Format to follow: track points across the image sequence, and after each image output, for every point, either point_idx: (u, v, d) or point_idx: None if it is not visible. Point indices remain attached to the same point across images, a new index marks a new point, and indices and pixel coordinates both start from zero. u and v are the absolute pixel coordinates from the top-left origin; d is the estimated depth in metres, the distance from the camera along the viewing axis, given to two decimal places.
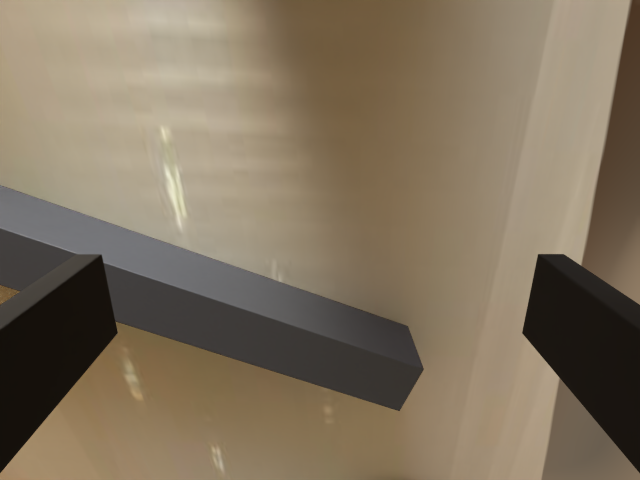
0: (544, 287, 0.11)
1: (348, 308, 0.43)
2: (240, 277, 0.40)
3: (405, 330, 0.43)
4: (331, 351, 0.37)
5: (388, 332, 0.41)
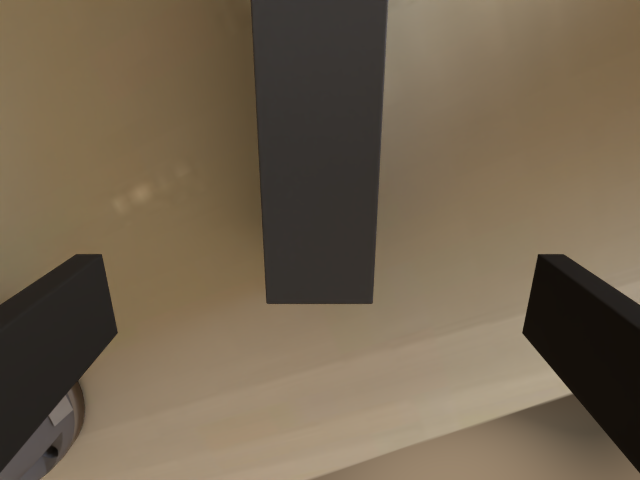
0: (544, 287, 0.11)
1: None
2: None
3: None
4: (351, 123, 0.17)
5: None
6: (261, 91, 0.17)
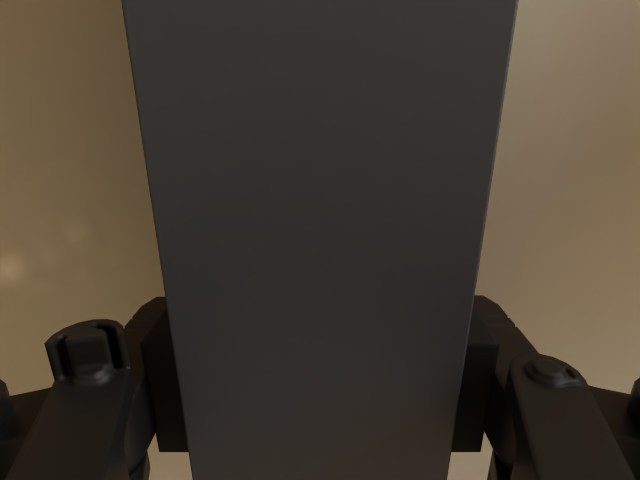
0: None
1: None
2: None
3: None
4: (407, 180, 0.06)
5: None
6: (150, 90, 0.06)
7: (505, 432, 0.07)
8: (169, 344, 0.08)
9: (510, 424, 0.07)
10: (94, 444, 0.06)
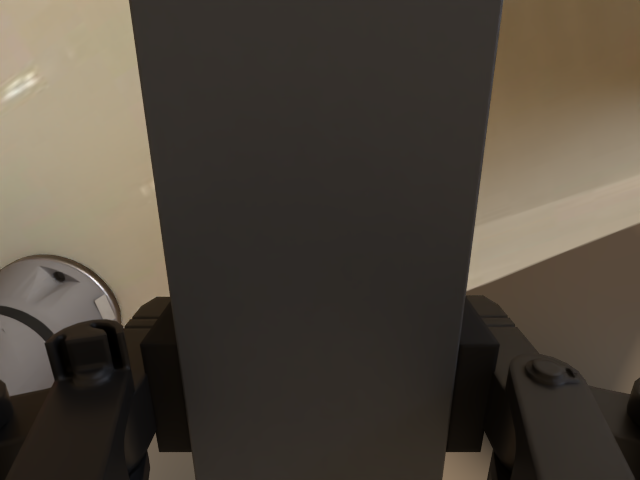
0: None
1: None
2: None
3: None
4: (401, 172, 0.06)
5: None
6: (156, 87, 0.06)
7: (505, 432, 0.07)
8: (169, 344, 0.08)
9: (510, 424, 0.07)
10: (94, 444, 0.06)
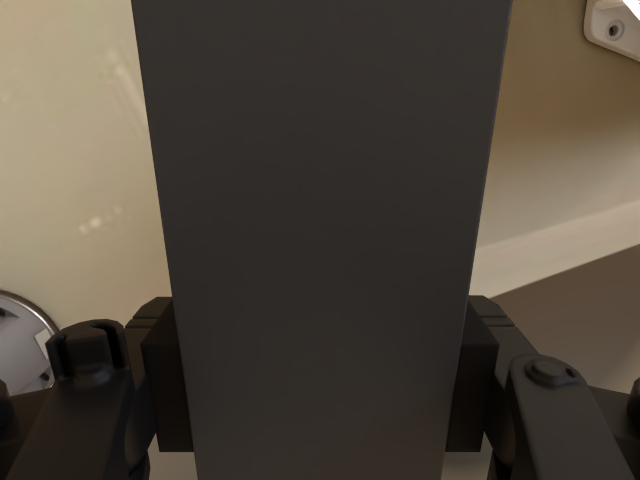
0: None
1: None
2: None
3: None
4: (406, 175, 0.06)
5: None
6: (158, 87, 0.06)
7: (505, 432, 0.07)
8: (169, 344, 0.08)
9: (510, 424, 0.07)
10: (94, 444, 0.06)
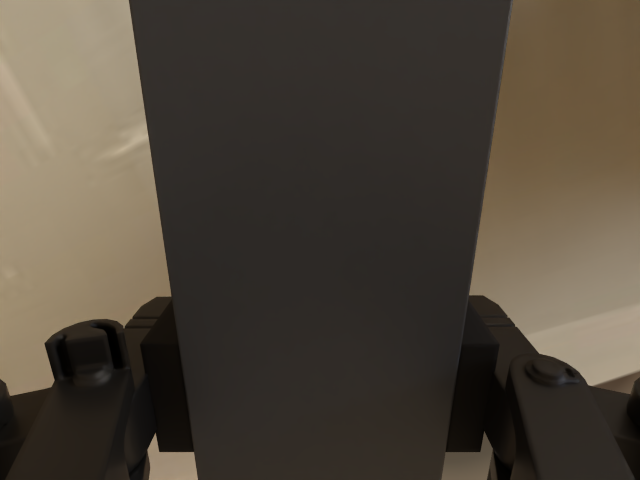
0: None
1: None
2: None
3: None
4: (406, 174, 0.06)
5: None
6: (157, 86, 0.06)
7: (505, 432, 0.07)
8: (169, 344, 0.08)
9: (510, 424, 0.07)
10: (94, 444, 0.06)
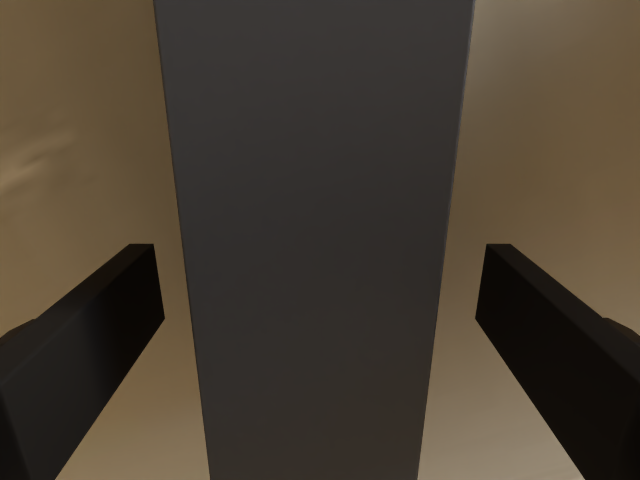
0: (490, 274, 0.12)
1: None
2: None
3: None
4: (386, 164, 0.08)
5: None
6: (177, 89, 0.07)
7: None
8: None
9: None
10: None
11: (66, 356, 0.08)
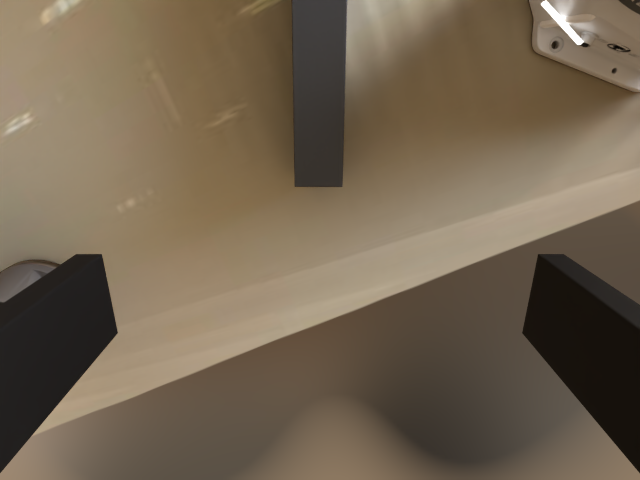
0: (544, 287, 0.11)
1: None
2: None
3: None
4: (331, 104, 0.42)
5: None
6: (295, 91, 0.42)
7: None
8: None
9: None
10: None
11: None
